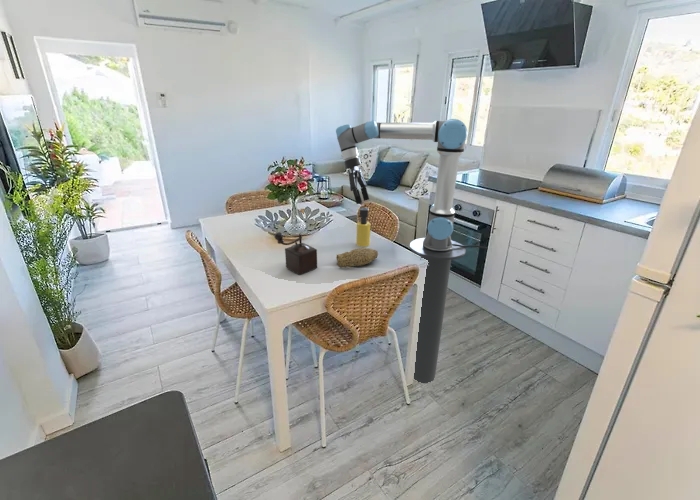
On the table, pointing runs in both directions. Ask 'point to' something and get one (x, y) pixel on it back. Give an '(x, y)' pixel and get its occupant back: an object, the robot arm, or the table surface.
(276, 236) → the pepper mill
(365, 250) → the sponge
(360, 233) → the spray bottle
